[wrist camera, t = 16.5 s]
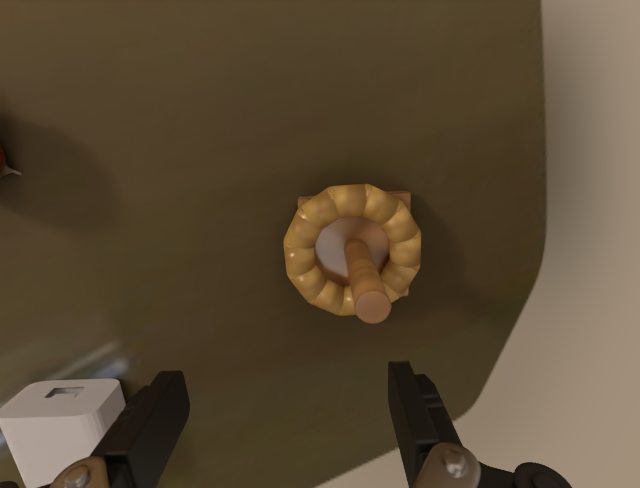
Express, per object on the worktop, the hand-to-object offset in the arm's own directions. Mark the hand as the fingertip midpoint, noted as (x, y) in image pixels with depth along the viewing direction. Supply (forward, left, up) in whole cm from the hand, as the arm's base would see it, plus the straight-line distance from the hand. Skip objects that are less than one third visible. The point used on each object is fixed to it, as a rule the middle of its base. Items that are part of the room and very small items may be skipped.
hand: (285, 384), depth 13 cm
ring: (0, +4, -15) cm, 15 cm away
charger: (+20, -24, -17) cm, 35 cm away
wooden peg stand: (0, +4, -17) cm, 17 cm away
